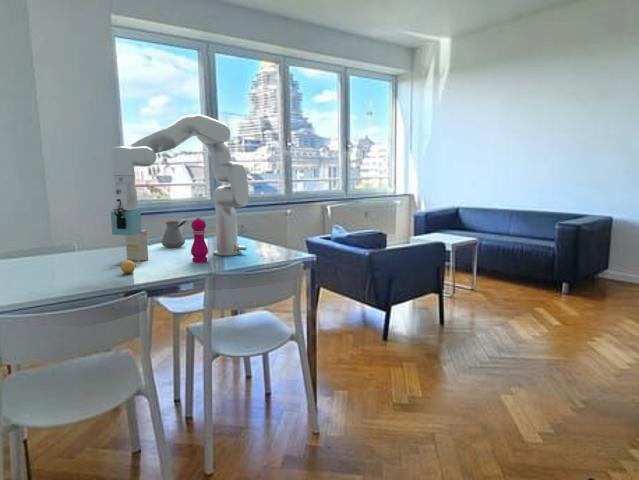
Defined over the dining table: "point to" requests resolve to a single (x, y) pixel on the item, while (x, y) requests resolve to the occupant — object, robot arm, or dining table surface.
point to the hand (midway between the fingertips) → (127, 227)
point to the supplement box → (137, 246)
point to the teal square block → (127, 223)
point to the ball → (127, 266)
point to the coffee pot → (173, 235)
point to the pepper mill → (199, 241)
